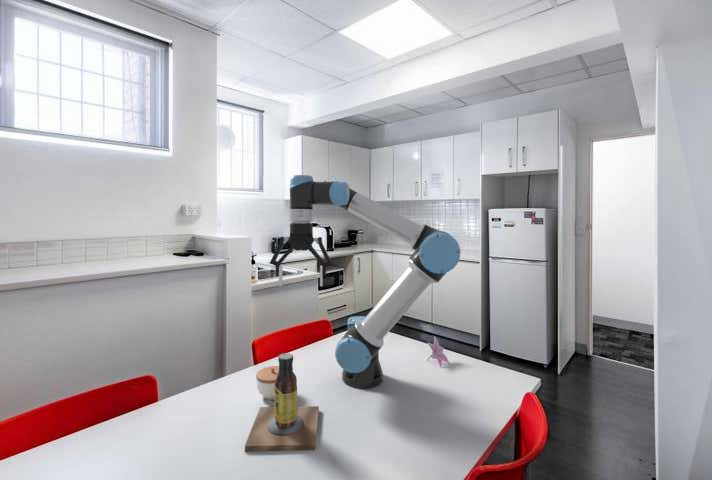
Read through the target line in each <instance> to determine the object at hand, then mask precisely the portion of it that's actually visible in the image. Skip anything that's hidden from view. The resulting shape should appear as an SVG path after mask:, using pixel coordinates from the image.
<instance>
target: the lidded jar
mask: <svg viewBox="0 0 712 480" xmlns="http://www.w3.org/2000/svg"><path fill="white" fill-rule="evenodd" d="M278 372H279V365H271V366H266V367H265V366H264V367H262V368H261V369H259V370H258V371H257V372H256V375H255V378H256V387H257V390H258V393H259V394H260V395H261V396H263V398H264V399H265V400H270V401H271V400H272V401H273V400H275V398H274V397H275V389H274V383H275V380H276V378H277V375H278Z"/></svg>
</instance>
